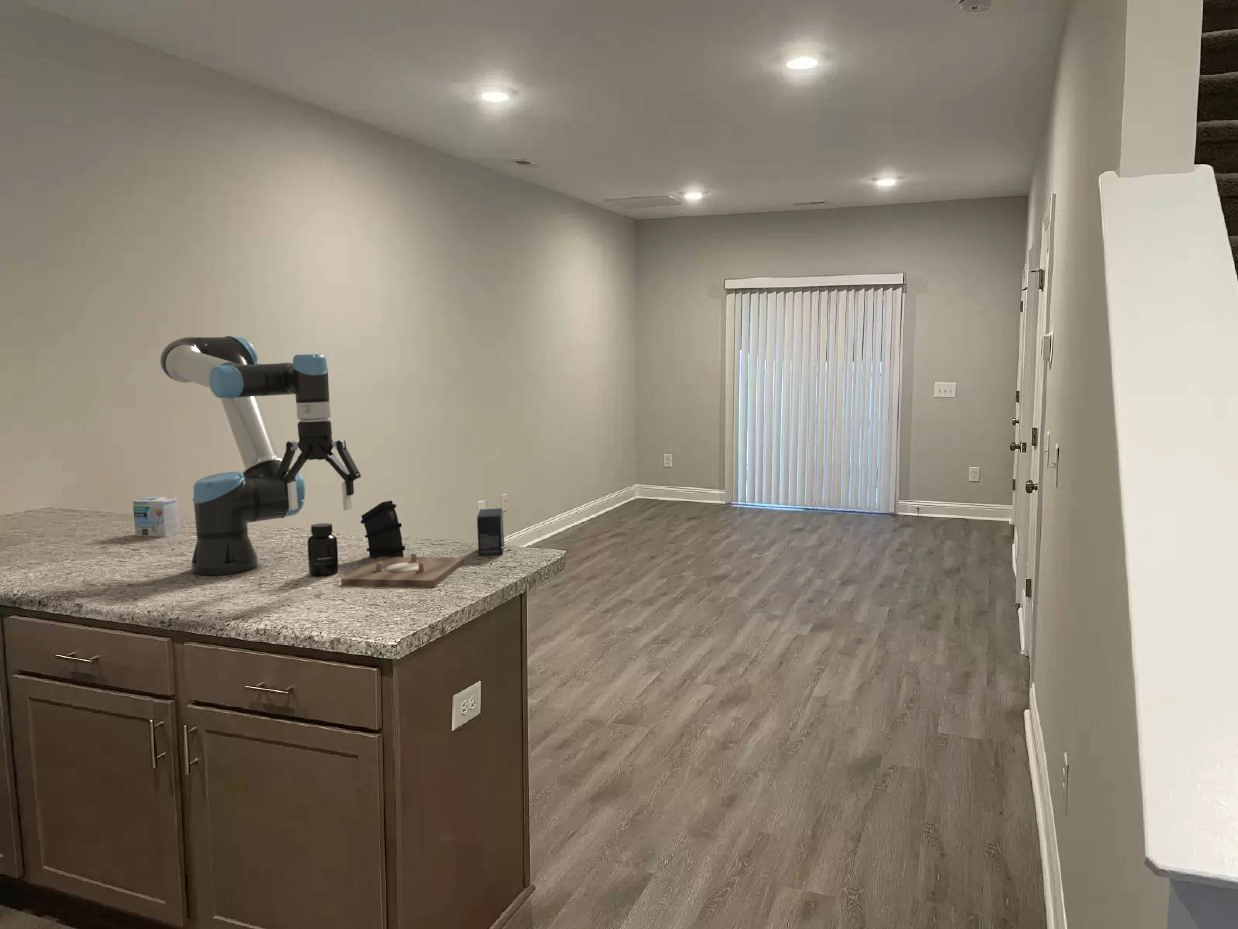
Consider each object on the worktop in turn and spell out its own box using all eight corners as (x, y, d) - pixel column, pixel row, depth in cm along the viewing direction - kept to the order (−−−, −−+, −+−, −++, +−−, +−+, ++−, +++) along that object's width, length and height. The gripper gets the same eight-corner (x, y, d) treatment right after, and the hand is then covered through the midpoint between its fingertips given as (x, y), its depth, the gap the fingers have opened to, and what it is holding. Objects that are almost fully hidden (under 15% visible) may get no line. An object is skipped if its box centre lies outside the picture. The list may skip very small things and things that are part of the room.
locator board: (341, 585, 211) (340, 570, 211) (379, 562, 233) (378, 548, 232) (434, 587, 208) (433, 571, 207) (464, 563, 229) (463, 549, 229)
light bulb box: (134, 536, 273) (131, 500, 271) (150, 531, 279) (147, 496, 278) (166, 537, 270) (162, 500, 269) (181, 532, 277) (178, 497, 275)
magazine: (400, 557, 230) (381, 501, 232) (373, 573, 238) (355, 519, 240) (413, 555, 233) (394, 499, 235) (385, 570, 241) (367, 516, 243)
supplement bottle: (322, 578, 217) (319, 528, 216) (303, 575, 221) (299, 526, 219) (345, 572, 223) (342, 523, 222) (325, 569, 227) (322, 521, 225)
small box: (480, 547, 248) (478, 508, 246) (504, 546, 248) (503, 507, 247) (477, 556, 237) (475, 516, 236) (503, 555, 238) (501, 515, 236)
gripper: (256, 422, 215) (263, 512, 218) (357, 420, 212) (363, 511, 214) (272, 419, 223) (279, 506, 225) (371, 417, 219) (376, 506, 222)
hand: (320, 509), depth 220 cm, fingers open, 13 cm apart
